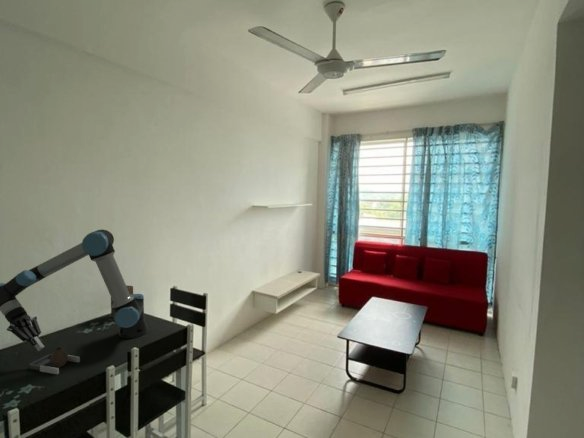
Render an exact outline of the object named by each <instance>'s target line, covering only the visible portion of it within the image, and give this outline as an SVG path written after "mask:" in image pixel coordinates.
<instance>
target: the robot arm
mask: <svg viewBox="0 0 584 438" xmlns="http://www.w3.org/2000/svg"><path fill="white" fill-rule="evenodd" d="M114 241H115V239H114V235H113V234H112V232H110V231H109V230H106V229H97V230H95V231H91V232H90V233H88V234H86V235H85V236H84V238H83V239H82V241H81V242H80V243H79V244H77V245H75V246H73V247H71V248H69V249H67V250H65V251H63V252H61V253H59V254H58V255H55V256H54V257H51V258H49V259H48V260H46V261H43V262H42V263H40V264H38V265H36V266H34V267H32V268H30V269H28V270H27V269H24V270H22V271H21V272H19V273H17V274H16V275H15V276H14V277H13V278H10V280H9V281H7V282H6V283H4V282H0V312H1V314H2V316H4V318H5V319H6V321H7V322H8V323H9V326H8V327H7V328H6V331H8V332H11V334H13V335H14V336H16V337H17V338H18V339H19V340H21V341H22V342H24V343H26V342H27V343H29V344H31V346H33V347H35V349H36V350H37V352H40V351H42V350H43V349H44V348H45V345H44V344H43V343H42V342H43V341H42V338H40V335H41V334H42V331H41V328H40V325H39V323H38V317H37V316H33V317H31V316H30V315H29V314H28V312H27V311H26V309H25V308H24V307H23V305H22V304H21V302H20V301H19V300H18V299H17V296H19V294H21V293H22V292H23V291H24V290H26V289H27V288H29V287H31V286H32V285H34V284H36V283H38V282H40V281H42V280H44V279H46V278H48V277H49V276H51V275H53V274H55V273H57V272H59V271H60V270H62V269H64V268H66V267H68V266H70V265H71V264H74V263H75V262H78V261H80V260H81V259H83V258H85V257H87V256H89V258H90V261H92V262H95V264H96V266H97V269H98V271H99V273H100V275H101V277H102V280H103V282H104V284H105V286H106V289H107V290H108V291H107V292H108V294H109V295H110V299H111V298H112V300H113V305H112V309H113V311H114V313H115V316H114V317H115V318H113V320H114V322H115V325H117V326H118V327H120V328H119V330H118V336H119V337H120V338H122V339H135V338H138V337H141V336H144V335H145V334H147V333H148V325H147V323H146V320H145V310H144V309H145V304H144V301H145V298H144V294H142V293H133V294H129V291H128V289H127V287H126V285H127V284H126V282H125V280H124V277H123V275H122V273H121V270H120V268H119V265H118V263H117V261H116V259H115V257H114V255H115V252H116V251H115V249H114V246H113V245H114Z"/></svg>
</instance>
